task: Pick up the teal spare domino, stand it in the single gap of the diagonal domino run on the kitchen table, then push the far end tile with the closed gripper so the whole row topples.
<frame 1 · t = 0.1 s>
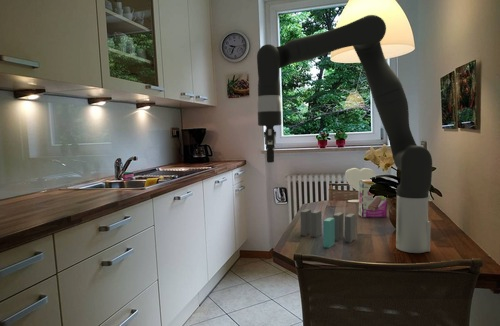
hand: (270, 161, 117), 29 cm above the table, fingers open, 8 cm apart
heart sculpture: (360, 201, 197), on the table
domino 2: (316, 235, 134), on the table
domino 5: (350, 240, 127), on the table
domino 1: (306, 233, 136), on the table
spare domino: (329, 245, 122), on the table
candy bar box: (372, 217, 161), on the table
domino 4: (338, 238, 129), on the table
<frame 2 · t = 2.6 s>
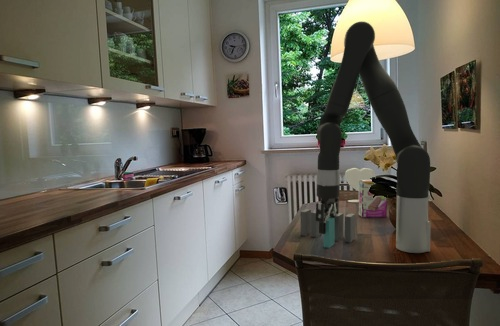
hand: (327, 230, 122), 5 cm above the table, fingers open, 8 cm apart
domino 4: (338, 239, 129), on the table, touching gripper
everything else where it was.
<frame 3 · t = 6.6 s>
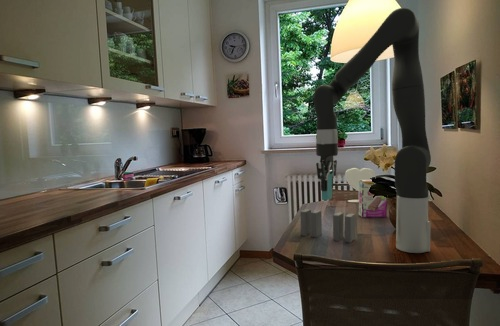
hand: (327, 189, 130), 17 cm above the table, fingers closed on spare domino, 5 cm apart
spare domino: (327, 198, 131), point 14 cm above the table, touching gripper
domino 4: (338, 238, 129), on the table
everything else where it was.
when the fingers open (4 cm above the table, at t = 9.8 s): spare domino stays where it is, on the table.
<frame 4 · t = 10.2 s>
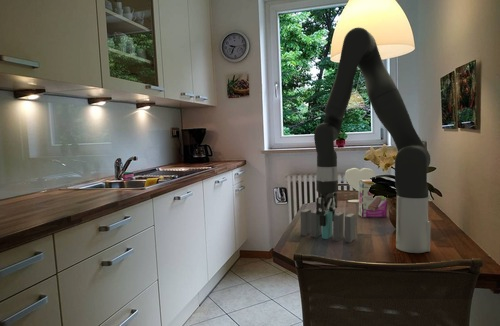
hand: (327, 223, 131), 5 cm above the table, fingers open, 8 cm apart
spare domino: (327, 236, 132), on the table
everything else where it was.
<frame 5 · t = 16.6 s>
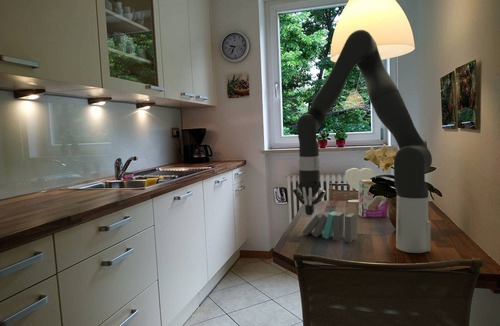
hand: (309, 214, 135), 7 cm above the table, fingers closed
domino 2: (316, 234, 134), on the table, tilted 28°
domino 1: (306, 232, 136), point 1 cm above the table, tilted 38°
spare domino: (327, 236, 132), on the table, tilted 15°
everything else where it was.
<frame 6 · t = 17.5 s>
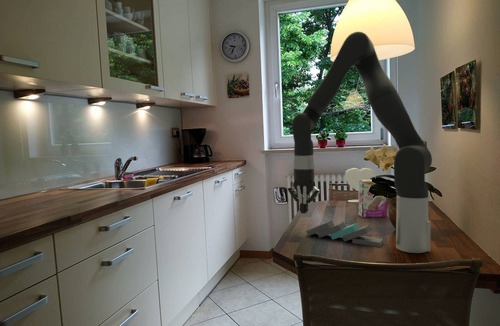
hand: (303, 213, 136), 8 cm above the table, fingers closed
domino 2: (321, 233, 133), point 1 cm above the table, tilted 64°
domino 5: (354, 239, 126), on the table, tilted 90°, touching domino 4
domino 1: (310, 231, 135), point 1 cm above the table, tilted 63°
spare domino: (333, 235, 130), point 1 cm above the table, tilted 63°, touching domino 4
domino 4: (345, 237, 128), point 1 cm above the table, tilted 63°, touching domino 5, spare domino
everything else where it was.
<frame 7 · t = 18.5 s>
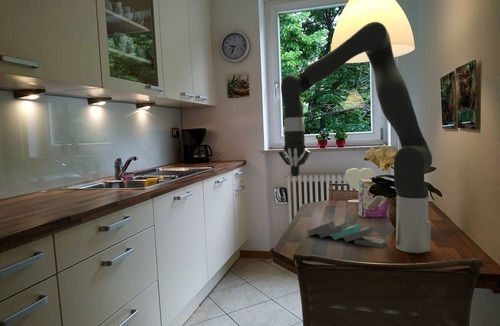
hand: (295, 176, 137), 22 cm above the table, fingers closed
domino 2: (322, 233, 133), point 1 cm above the table, tilted 65°, touching domino 1, spare domino
domino 5: (357, 240, 125), on the table, tilted 90°
domino 1: (311, 231, 135), point 1 cm above the table, tilted 65°, touching domino 2
spare domino: (336, 235, 130), point 1 cm above the table, tilted 64°, touching domino 2, domino 4
domino 4: (347, 237, 127), point 1 cm above the table, tilted 64°, touching spare domino
everything else where it was.
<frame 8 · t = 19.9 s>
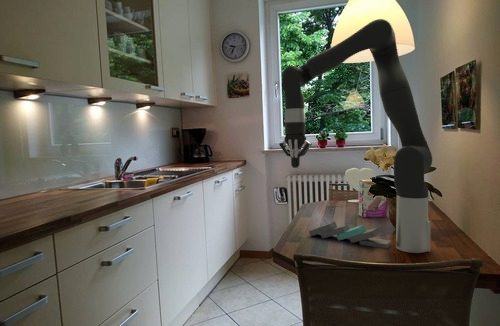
hand: (295, 167, 136), 25 cm above the table, fingers closed
domino 2: (324, 234, 132), point 1 cm above the table, tilted 68°, touching domino 1
domino 5: (361, 241, 124), on the table, tilted 90°, touching domino 4
spare domino: (340, 235, 129), point 1 cm above the table, tilted 65°
domino 4: (353, 238, 126), point 1 cm above the table, tilted 66°, touching domino 5
at the end: domino 5 tilted 90°; spare domino tilted 65° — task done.
